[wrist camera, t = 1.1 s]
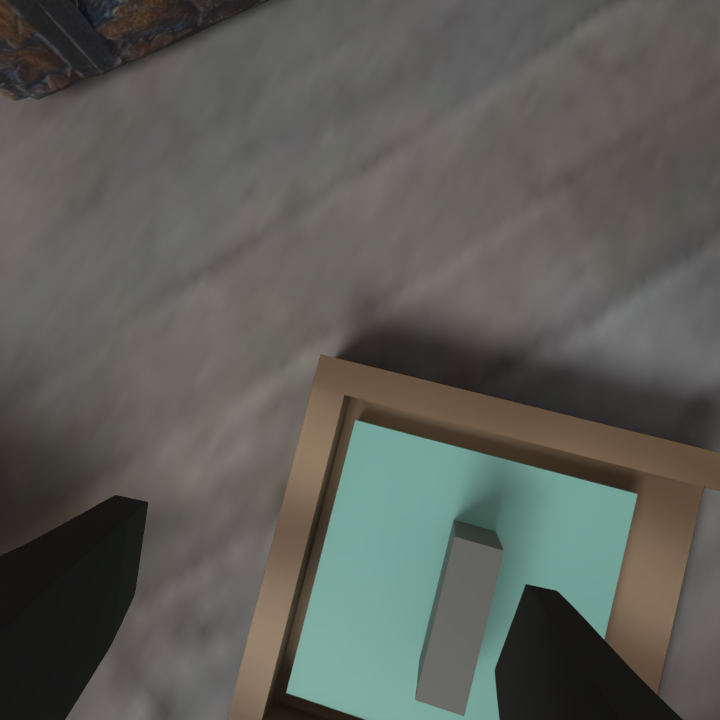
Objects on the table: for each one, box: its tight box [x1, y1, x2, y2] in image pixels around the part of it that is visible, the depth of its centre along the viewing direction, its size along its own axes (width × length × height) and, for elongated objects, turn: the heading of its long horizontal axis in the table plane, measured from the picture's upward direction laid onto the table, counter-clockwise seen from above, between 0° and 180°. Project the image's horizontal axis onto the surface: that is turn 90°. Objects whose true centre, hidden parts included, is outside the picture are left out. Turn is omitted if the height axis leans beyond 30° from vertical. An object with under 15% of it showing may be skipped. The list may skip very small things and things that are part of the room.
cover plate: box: [286, 420, 638, 720], centre depth 20 cm, size 10×10×4 cm
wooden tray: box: [227, 354, 720, 720], centre depth 22 cm, size 14×14×2 cm
